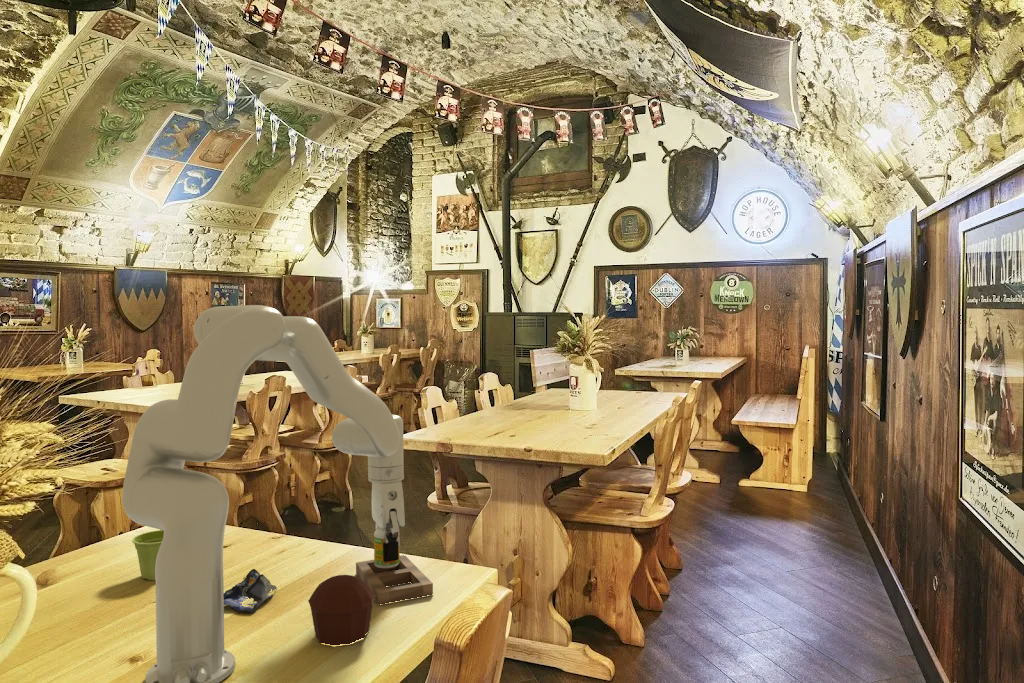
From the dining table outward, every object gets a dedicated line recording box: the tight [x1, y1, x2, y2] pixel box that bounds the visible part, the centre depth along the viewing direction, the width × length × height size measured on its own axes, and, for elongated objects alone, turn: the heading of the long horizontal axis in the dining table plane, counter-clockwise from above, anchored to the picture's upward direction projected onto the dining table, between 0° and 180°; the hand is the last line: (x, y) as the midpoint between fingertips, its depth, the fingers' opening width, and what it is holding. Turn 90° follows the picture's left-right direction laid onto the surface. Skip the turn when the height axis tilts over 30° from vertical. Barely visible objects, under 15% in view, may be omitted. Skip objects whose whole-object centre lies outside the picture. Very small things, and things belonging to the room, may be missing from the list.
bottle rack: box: [355, 554, 434, 606], centre depth 142 cm, size 19×11×2 cm, turn 26°
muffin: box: [307, 574, 376, 645], centre depth 119 cm, size 12×11×10 cm
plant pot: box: [131, 529, 164, 581], centre depth 148 cm, size 9×9×9 cm
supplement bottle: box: [373, 524, 401, 568], centre depth 146 cm, size 5×5×10 cm
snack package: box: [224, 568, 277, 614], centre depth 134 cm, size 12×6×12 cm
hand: (386, 555), depth 146 cm, fingers closed on supplement bottle, 5 cm apart
